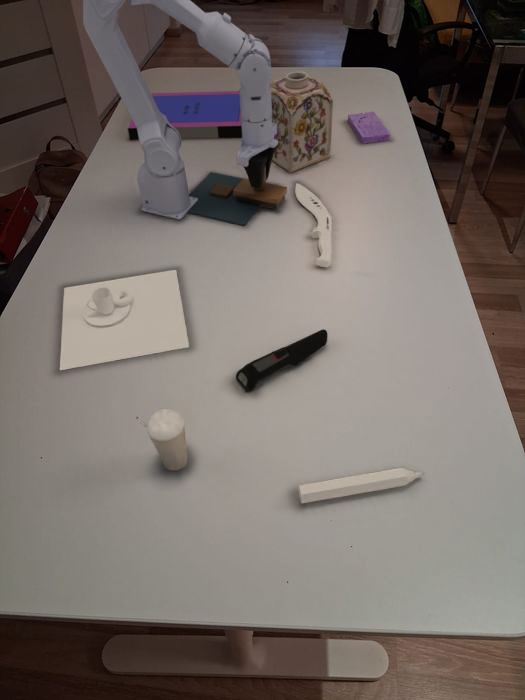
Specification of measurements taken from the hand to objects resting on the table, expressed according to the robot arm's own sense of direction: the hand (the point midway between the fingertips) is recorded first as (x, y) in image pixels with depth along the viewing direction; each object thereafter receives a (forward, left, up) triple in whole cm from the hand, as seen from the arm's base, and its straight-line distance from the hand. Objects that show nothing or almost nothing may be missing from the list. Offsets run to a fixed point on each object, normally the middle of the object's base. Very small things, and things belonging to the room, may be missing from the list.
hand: (259, 182), depth 109 cm
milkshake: (+15, -61, -5) cm, 63 cm away
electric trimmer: (+21, -40, -5) cm, 46 cm away
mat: (-7, -1, -4) cm, 9 cm away
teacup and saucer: (-7, -40, -5) cm, 41 cm away
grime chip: (-9, 0, -4) cm, 10 cm away
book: (-32, +30, -5) cm, 44 cm away
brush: (0, 0, -4) cm, 4 cm away
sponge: (+12, +39, -5) cm, 41 cm away
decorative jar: (0, +21, -5) cm, 22 cm away
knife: (+13, -3, -5) cm, 14 cm away
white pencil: (+39, -55, -5) cm, 68 cm away
